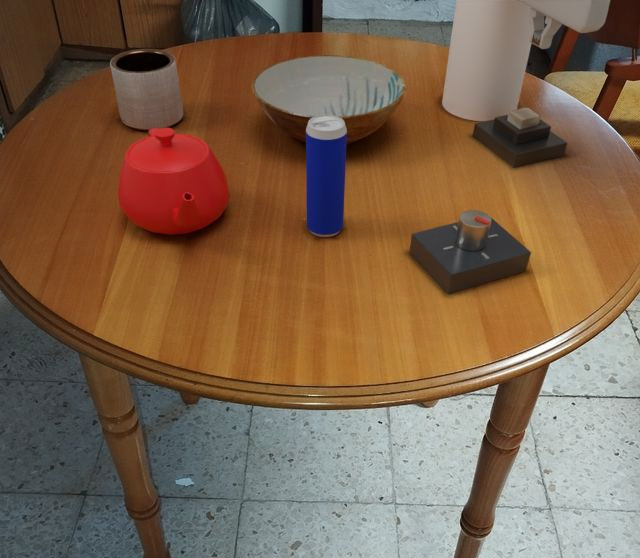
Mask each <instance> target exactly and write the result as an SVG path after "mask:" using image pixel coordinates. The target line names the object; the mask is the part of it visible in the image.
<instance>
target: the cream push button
mask: <svg viewBox="0 0 640 558" xmlns="http://www.w3.org/2000/svg"><path fill="white" fill-rule="evenodd" d="M540 119H541V115H540V114H538V113H537V112H535V111H533V110H532V109H531V108H529V107H523V108H517V110H512V111H509V114H508V119H507V121H509V122H510V123H511V124H513V125H514V126H516V127H517V128H519V129H524V128H529V127H534V126H538V124H539V120H540Z"/></svg>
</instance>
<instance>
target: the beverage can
mask: <svg viewBox="0 0 640 558" xmlns="http://www.w3.org/2000/svg"><path fill="white" fill-rule="evenodd" d="M346 140H347V129H346V125H345V122H344V120H343V119H341V118H340V117H337V116H334V115H318V116H315V117H313V118H311V119H310V120H309V122H308V125H307V128H306V143H305V159H306V160H305V177H306V178H305V179H306V180H305V182H306V183H305V184H306V186H305V187H306V191H305V192H306V200H305V201H306V228H307V229H308V231H309V232H310V233H311V234H312V235H314V236H316V237H320V238H331V237H334V236H336V235H338V234H339V233H340V232H341V231H342V230H343V228H344V220H345V219H344V214H345V190H346V165H347V163H346V162H347V145H346Z"/></svg>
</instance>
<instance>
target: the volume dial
mask: <svg viewBox="0 0 640 558" xmlns="http://www.w3.org/2000/svg"><path fill="white" fill-rule="evenodd" d="M491 218H492V216H490V215H489V214H488V213H487V212H484V211H482V210H476V209H471V210H470V209H469V210H466V211H462V212H461V213H460V214H459V217H458V222H459V223H458V228H457V234H456V239H455V242H456V244H457V246H459V247H460V248H462V249H464V250H468V251H478V250H481V249H483V248H484V247H485V246H486V243H487V238H488V234H489V229H490V225H491Z"/></svg>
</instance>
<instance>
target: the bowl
mask: <svg viewBox="0 0 640 558" xmlns="http://www.w3.org/2000/svg"><path fill="white" fill-rule="evenodd" d="M250 85H251V87H250V88H251V91H252V95H254V97H255V99H256V101H257V103H258V105H259V106H260V108H261V109H262V111H263V113H264V114H265V115H266V116H267V118H268V119H269V120H270V121H271V122H272V123H273V125H275V126H276V127H278V129H280V130H281V131H282V132H284V133H285V134H286V135H289V136H291V137H292V138H294V139H297V140H298V141H300V142H302V143H304V144H306V128H307V125H308V122H309V120H310V119H311V118H313V117H315V116H318V115H334V116H337V117H340V118H341V119H343V120H344V122H345V125H346V129H347V140H346V146H347V145H350V144H353V143H355V142H357V141H359V140H361V139H363V138H366V137H368V136H370V135H371V134H373V133H374V132H376V131H377V130H378V129H379V128H380V127H382V126H383V125H384V124H385V123H386V122H387V121H388V120H389V118H390V117H391V116H392V115H393V114H394V113H395V111H396V110H397V108H398V107H399V105H400V104H401V102H402V100H403V98H404V96H405V94H406V91H407V84H406V81H405V80H404V78H403V77H402V75H400V73H398V72H397V71H396V70H394V69H392V68H391V67H389V66H387V65H384V64H382V63H380V62H377V61H373V60H371V59H370V60H369V59H366V58H362V57H361V58H360V57H356V56H350V55H348V56H347V55H338V54H337V55H336V54H319V55H318V54H317V55H305V56H298V57H294V58H289V59H284V60H282V61H278V62H275V63H273V64H270V65H269V66H266V67H264V68H263V69H261V70H260V71H259V72H257V73H256V75H255V76H254V77H253V79H252V80H251V84H250Z"/></svg>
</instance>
